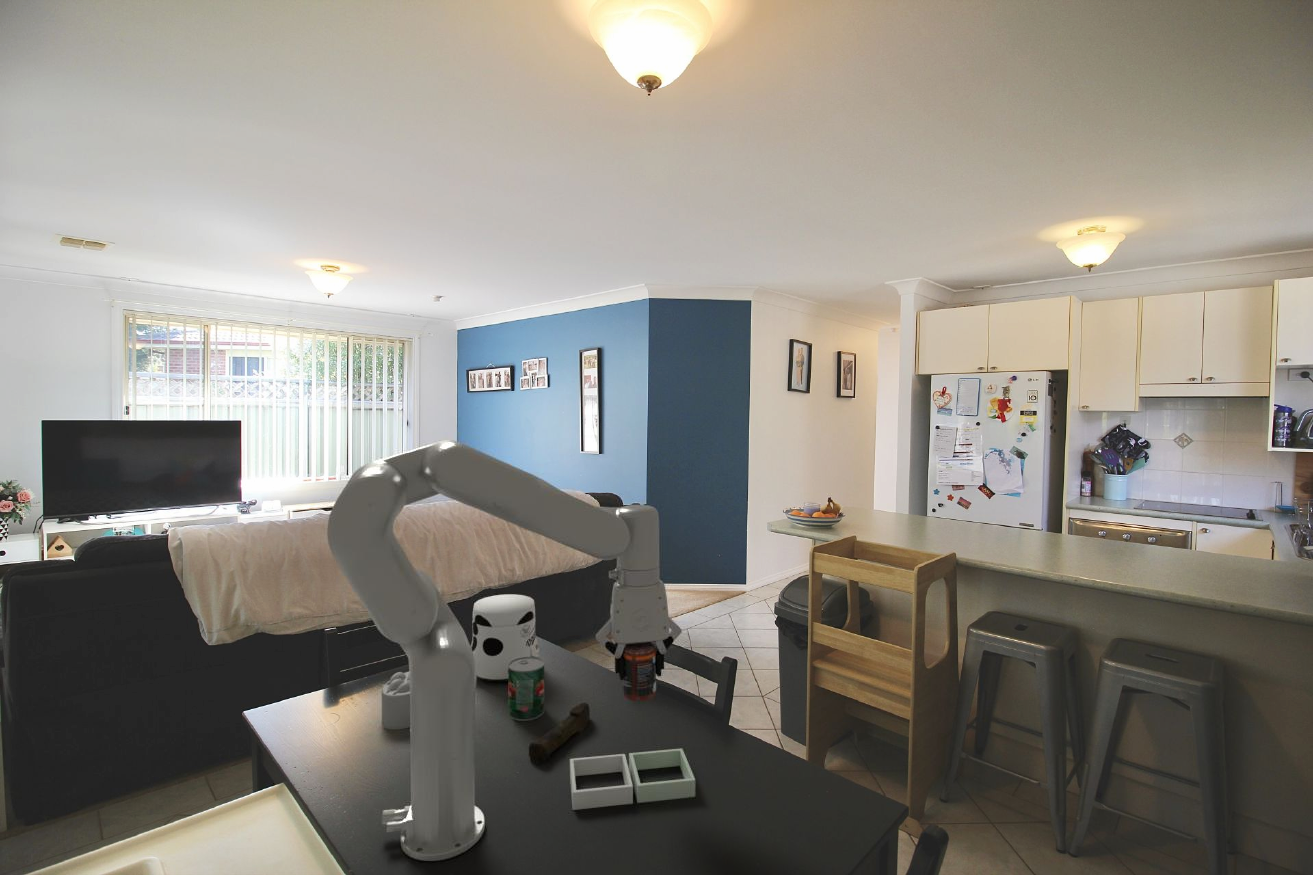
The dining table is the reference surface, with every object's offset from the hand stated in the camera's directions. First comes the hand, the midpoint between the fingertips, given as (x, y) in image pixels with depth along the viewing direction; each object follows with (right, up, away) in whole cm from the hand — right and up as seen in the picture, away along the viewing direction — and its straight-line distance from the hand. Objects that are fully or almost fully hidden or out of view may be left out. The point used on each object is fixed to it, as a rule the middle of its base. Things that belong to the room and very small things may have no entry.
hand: (639, 674), depth 110 cm
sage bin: (+4, -20, +1) cm, 21 cm away
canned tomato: (-26, -19, +27) cm, 42 cm away
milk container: (-36, -18, +47) cm, 62 cm away
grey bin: (-7, -20, -1) cm, 21 cm away
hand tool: (-16, -20, +16) cm, 30 cm away
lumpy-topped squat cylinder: (-51, -19, +25) cm, 60 cm away
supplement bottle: (0, -4, 0) cm, 4 cm away
